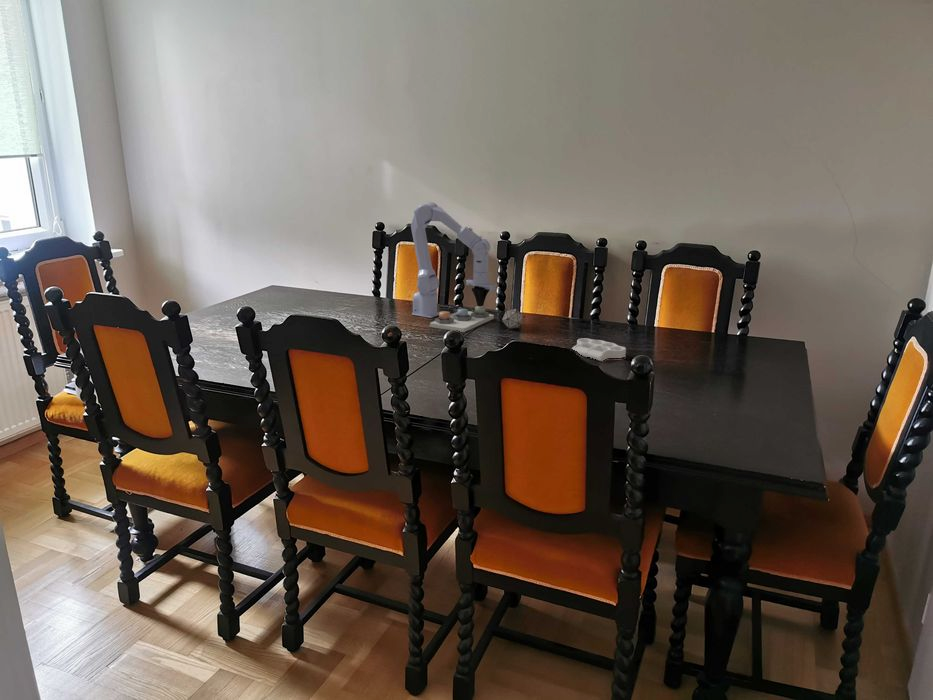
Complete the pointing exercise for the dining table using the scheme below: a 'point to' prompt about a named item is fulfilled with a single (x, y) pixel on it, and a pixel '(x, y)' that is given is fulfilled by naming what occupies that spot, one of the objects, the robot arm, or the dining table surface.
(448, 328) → the button panel
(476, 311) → the button green
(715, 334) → the dining table surface
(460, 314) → the button blue
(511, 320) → the game die
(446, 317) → the button terracotta
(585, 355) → the grey hollowed tray
